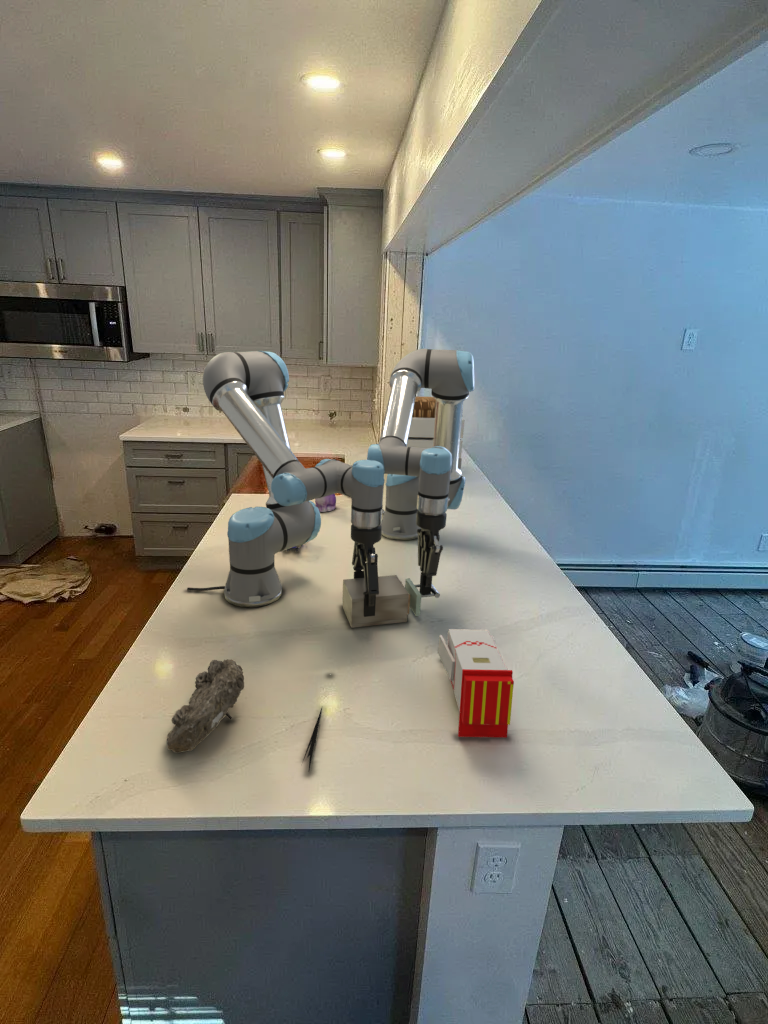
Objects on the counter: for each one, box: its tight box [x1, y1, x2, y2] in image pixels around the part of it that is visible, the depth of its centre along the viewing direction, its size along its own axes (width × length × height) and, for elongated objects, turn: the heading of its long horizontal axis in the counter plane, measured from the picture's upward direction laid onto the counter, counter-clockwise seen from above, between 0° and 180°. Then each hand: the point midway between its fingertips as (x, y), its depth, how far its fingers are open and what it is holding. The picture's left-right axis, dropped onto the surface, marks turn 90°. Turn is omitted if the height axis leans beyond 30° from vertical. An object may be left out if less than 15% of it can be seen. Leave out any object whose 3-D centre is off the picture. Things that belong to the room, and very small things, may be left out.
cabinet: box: [341, 574, 409, 629], centre depth 146 cm, size 14×11×8 cm
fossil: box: [166, 658, 245, 754], centre depth 106 cm, size 22×10×15 cm
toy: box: [437, 628, 515, 738], centre depth 117 cm, size 12×13×30 cm
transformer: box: [407, 395, 465, 471], centre depth 268 cm, size 34×33×41 cm
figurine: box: [314, 493, 337, 513], centre depth 218 cm, size 9×10×15 cm
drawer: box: [401, 577, 441, 617], centre depth 148 cm, size 19×10×6 cm, turn 106°
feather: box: [301, 673, 332, 771], centre depth 108 cm, size 2×28×2 cm
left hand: (363, 604), depth 145 cm, fingers closed on cabinet, 11 cm apart
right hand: (424, 595), depth 149 cm, fingers closed
